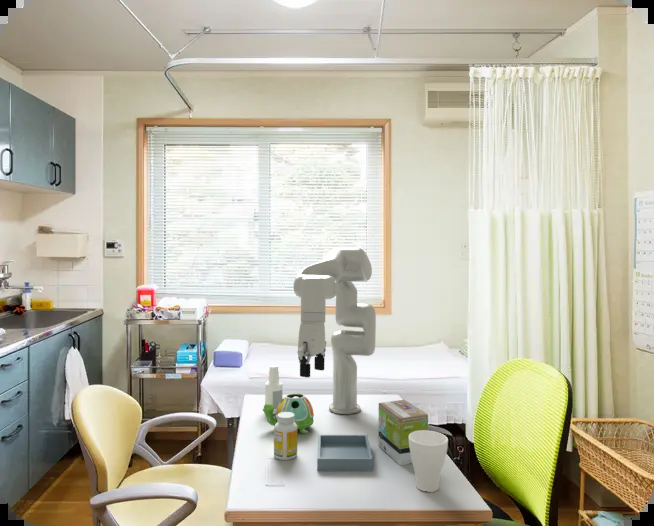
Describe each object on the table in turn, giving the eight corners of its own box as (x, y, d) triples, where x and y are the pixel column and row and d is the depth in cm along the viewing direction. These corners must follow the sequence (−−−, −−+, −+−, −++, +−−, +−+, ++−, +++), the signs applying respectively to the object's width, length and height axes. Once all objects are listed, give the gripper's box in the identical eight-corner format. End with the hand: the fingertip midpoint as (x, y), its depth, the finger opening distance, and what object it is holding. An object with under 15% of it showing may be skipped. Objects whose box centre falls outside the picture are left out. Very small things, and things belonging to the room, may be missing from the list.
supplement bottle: (272, 460, 146) (272, 418, 146) (275, 450, 154) (275, 410, 153) (296, 460, 146) (296, 418, 146) (298, 450, 154) (298, 410, 153)
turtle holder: (263, 423, 177) (263, 391, 177) (312, 422, 179) (313, 390, 179) (262, 436, 165) (262, 401, 165) (315, 435, 167) (315, 400, 166)
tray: (318, 445, 158) (318, 434, 158) (367, 445, 158) (367, 434, 158) (317, 470, 140) (317, 458, 140) (372, 471, 140) (372, 459, 140)
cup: (454, 493, 128) (455, 443, 127) (418, 499, 125) (419, 447, 124) (435, 475, 138) (435, 428, 137) (401, 480, 135) (401, 432, 134)
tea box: (377, 446, 157) (377, 401, 157) (404, 442, 161) (405, 398, 160) (399, 466, 143) (400, 417, 143) (428, 461, 147) (429, 413, 146)
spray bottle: (281, 414, 186) (281, 368, 186) (263, 414, 187) (263, 368, 186) (283, 408, 193) (283, 364, 193) (266, 408, 193) (266, 363, 193)
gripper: (314, 313, 157) (314, 366, 157) (288, 319, 141) (287, 378, 142) (335, 315, 154) (335, 368, 154) (311, 321, 138) (310, 381, 138)
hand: (312, 373), depth 148 cm, fingers open, 9 cm apart
